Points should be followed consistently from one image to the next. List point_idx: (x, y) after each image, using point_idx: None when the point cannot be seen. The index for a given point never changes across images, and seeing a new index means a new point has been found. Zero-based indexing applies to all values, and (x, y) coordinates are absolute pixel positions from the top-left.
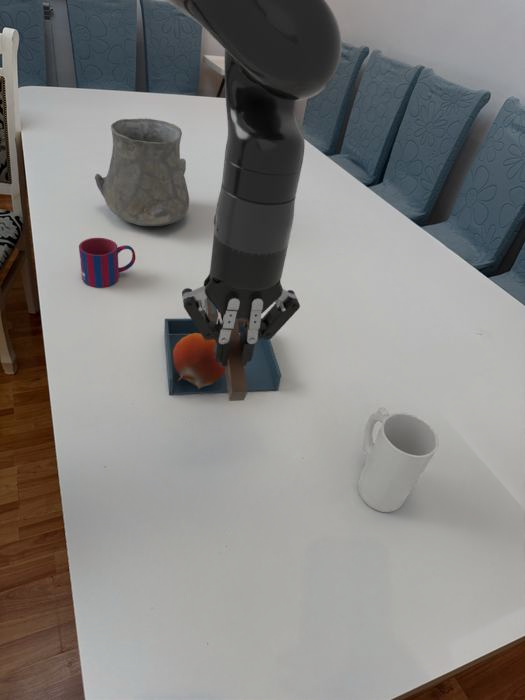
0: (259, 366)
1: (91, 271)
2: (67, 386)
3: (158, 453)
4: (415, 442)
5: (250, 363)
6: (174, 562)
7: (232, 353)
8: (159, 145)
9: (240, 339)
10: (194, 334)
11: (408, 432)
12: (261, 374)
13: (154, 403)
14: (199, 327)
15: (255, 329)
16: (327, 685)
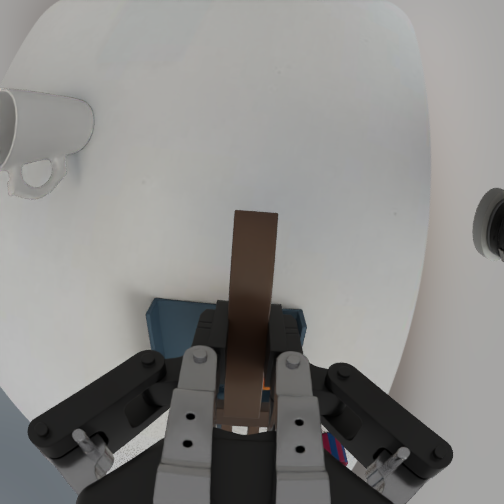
0: (173, 337)
1: (338, 446)
2: (400, 326)
3: (336, 220)
4: (4, 147)
5: (184, 343)
6: (341, 72)
7: (254, 330)
8: None
9: (226, 366)
10: (268, 387)
11: (3, 159)
12: (172, 325)
13: (322, 298)
14: (381, 395)
15: (188, 387)
16: None
